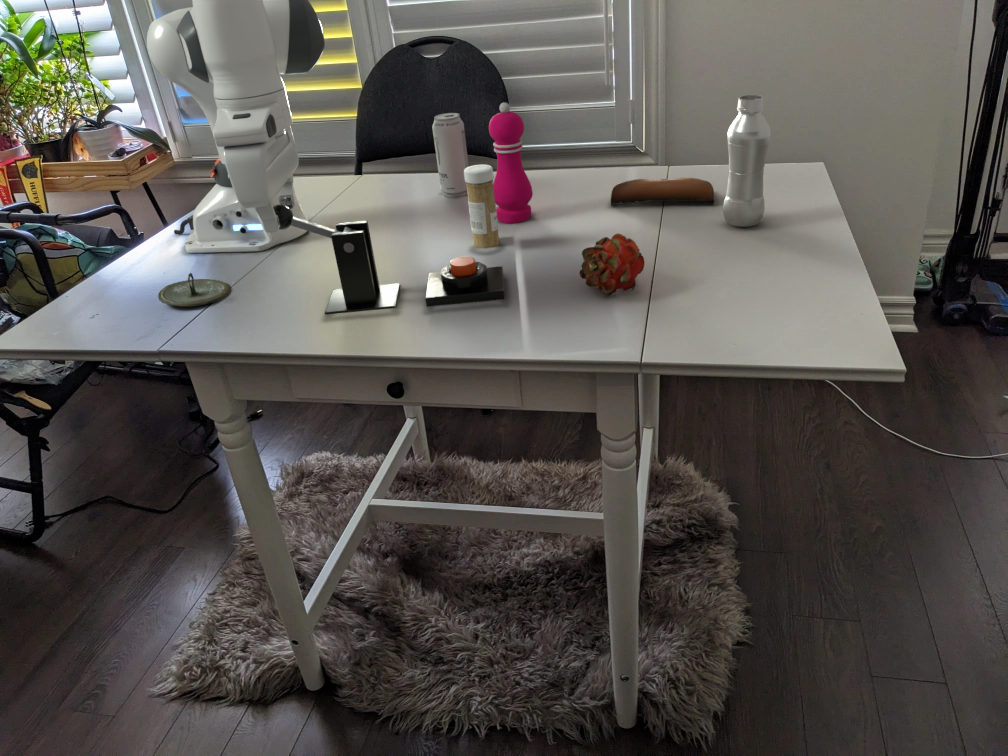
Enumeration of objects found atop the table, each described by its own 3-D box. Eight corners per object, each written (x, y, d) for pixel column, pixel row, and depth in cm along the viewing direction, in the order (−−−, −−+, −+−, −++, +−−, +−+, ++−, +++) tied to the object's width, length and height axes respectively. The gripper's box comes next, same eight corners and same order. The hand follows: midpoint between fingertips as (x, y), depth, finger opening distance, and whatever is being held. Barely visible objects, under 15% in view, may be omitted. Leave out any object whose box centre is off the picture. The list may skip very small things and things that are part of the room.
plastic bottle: (748, 214, 134) (756, 90, 124) (772, 226, 129) (782, 97, 119) (714, 221, 133) (719, 97, 123) (736, 234, 127) (744, 104, 117)
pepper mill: (542, 216, 143) (534, 101, 133) (509, 227, 140) (498, 109, 130) (519, 208, 148) (509, 96, 138) (486, 218, 145) (474, 104, 135)
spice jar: (506, 248, 131) (498, 166, 125) (482, 255, 129) (473, 173, 123) (491, 241, 135) (482, 161, 128) (467, 248, 133) (458, 168, 126)
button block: (427, 312, 113) (423, 286, 111) (431, 286, 121) (427, 261, 119) (505, 305, 113) (502, 278, 111) (503, 279, 120) (501, 254, 118)
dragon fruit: (594, 318, 110) (618, 293, 120) (644, 286, 105) (665, 264, 116) (559, 266, 109) (586, 246, 119) (608, 232, 105) (632, 214, 115)
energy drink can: (439, 191, 162) (428, 115, 154) (468, 186, 163) (459, 110, 155) (444, 199, 157) (433, 121, 149) (474, 194, 158) (465, 116, 150)
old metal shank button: (156, 313, 125) (140, 288, 122) (206, 276, 130) (191, 251, 126) (194, 331, 119) (177, 305, 116) (244, 292, 124) (230, 266, 120)
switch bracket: (326, 320, 114) (308, 241, 108) (335, 296, 121) (318, 221, 115) (396, 313, 113) (382, 234, 107) (401, 290, 120) (388, 214, 114)
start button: (451, 278, 113) (449, 267, 112) (451, 268, 116) (450, 257, 115) (476, 276, 113) (475, 264, 112) (476, 266, 116) (475, 255, 115)
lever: (263, 228, 109) (268, 205, 107) (268, 220, 112) (273, 198, 110) (356, 258, 112) (363, 236, 110) (360, 249, 114) (366, 228, 113)
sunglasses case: (713, 188, 146) (715, 162, 140) (713, 218, 143) (714, 193, 137) (614, 190, 150) (611, 165, 144) (611, 220, 147) (609, 196, 141)
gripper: (252, 102, 112) (275, 198, 119) (208, 136, 95) (239, 247, 101) (296, 97, 112) (317, 193, 119) (260, 131, 94) (288, 242, 101)
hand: (281, 218), depth 110 cm, fingers open, 8 cm apart
